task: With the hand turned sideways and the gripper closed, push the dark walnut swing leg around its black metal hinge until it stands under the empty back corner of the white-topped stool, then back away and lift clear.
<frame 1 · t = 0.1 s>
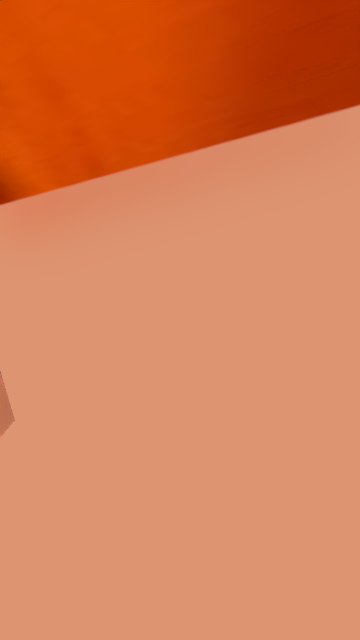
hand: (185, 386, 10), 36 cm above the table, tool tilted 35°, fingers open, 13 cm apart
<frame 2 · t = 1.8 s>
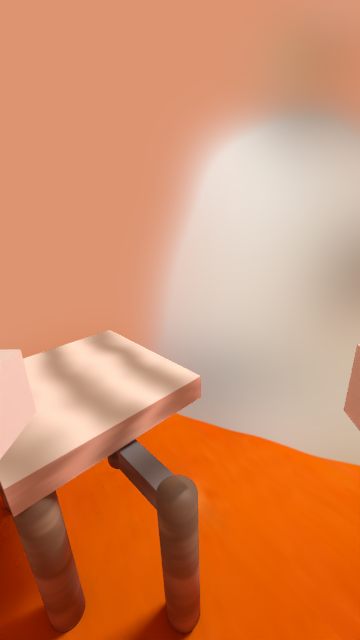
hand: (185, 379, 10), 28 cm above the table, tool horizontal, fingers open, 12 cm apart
stool: (101, 500, 36), on the table
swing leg: (152, 525, 26), point 8 cm above the table, hinge at 90.0°
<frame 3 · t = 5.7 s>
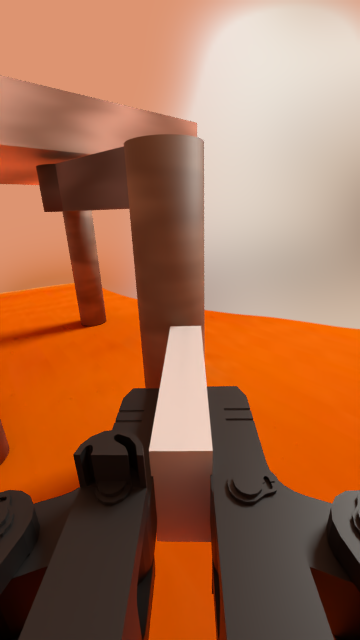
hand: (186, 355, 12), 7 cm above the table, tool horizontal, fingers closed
stool: (58, 364, 26), on the table
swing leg: (122, 309, 16), point 8 cm above the table, hinge at 83.9°, touching gripper
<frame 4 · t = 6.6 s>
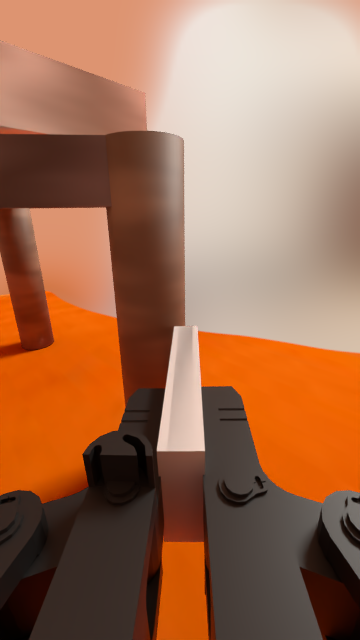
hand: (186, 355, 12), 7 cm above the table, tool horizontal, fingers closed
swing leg: (69, 331, 13), point 8 cm above the table, hinge at 41.8°, touching gripper
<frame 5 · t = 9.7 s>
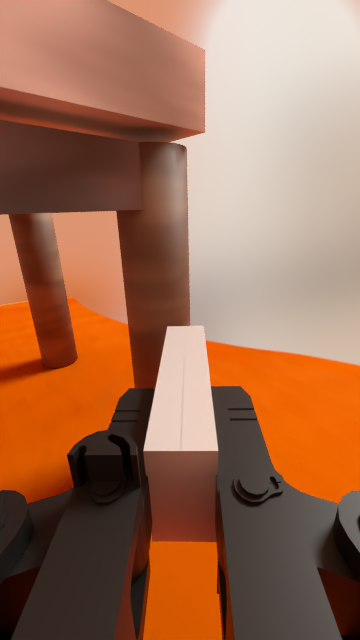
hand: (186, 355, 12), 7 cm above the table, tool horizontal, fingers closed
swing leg: (91, 346, 12), point 8 cm above the table, hinge at -1.1°
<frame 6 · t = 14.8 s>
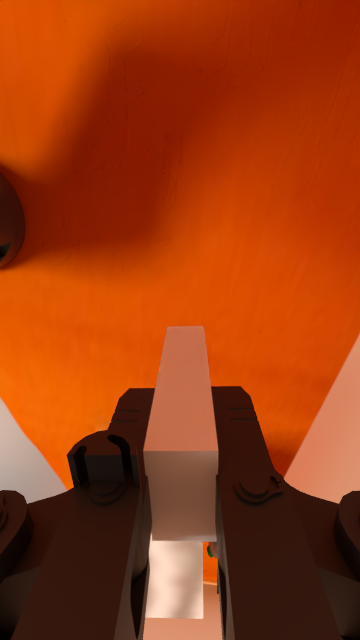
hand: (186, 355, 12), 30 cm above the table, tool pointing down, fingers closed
stool: (151, 466, 55), on the table
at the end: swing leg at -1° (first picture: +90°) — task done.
